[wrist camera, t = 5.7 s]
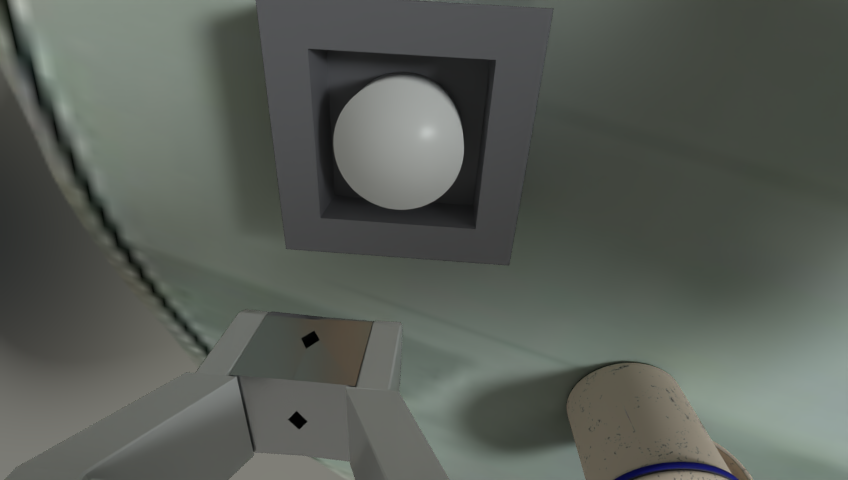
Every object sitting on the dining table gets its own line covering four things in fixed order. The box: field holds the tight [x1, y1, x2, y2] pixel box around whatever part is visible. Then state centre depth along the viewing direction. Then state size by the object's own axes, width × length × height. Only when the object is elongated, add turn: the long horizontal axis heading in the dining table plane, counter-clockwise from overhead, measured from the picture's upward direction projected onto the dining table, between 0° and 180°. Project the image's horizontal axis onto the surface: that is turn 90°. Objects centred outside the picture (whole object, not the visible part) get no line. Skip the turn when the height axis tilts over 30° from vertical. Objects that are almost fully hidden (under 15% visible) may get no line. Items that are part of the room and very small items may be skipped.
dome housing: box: [256, 0, 553, 265], centre depth 22 cm, size 12×12×5 cm
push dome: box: [333, 72, 464, 210], centre depth 21 cm, size 6×6×3 cm
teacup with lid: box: [567, 363, 753, 480], centre depth 29 cm, size 12×9×12 cm
